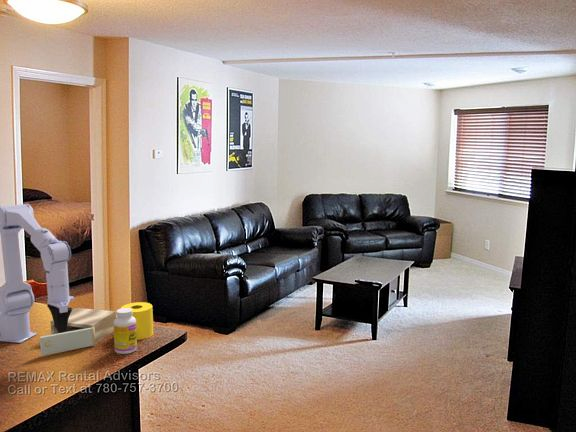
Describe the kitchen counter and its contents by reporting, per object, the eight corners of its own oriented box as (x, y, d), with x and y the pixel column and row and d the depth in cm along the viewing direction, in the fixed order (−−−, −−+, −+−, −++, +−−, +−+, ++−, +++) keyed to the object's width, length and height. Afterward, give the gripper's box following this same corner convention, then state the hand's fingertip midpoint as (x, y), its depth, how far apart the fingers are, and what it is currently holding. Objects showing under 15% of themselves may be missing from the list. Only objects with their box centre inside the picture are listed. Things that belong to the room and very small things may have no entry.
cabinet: (51, 340, 174) (50, 321, 173) (77, 325, 187) (75, 307, 186) (93, 345, 171) (92, 325, 170) (116, 329, 184) (115, 311, 183)
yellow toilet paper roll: (145, 326, 187) (144, 300, 185) (158, 335, 179) (157, 307, 178) (117, 333, 181) (116, 306, 179) (129, 342, 173) (128, 314, 171)
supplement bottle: (130, 355, 163) (129, 314, 161) (110, 353, 164) (108, 313, 162) (141, 347, 169) (139, 307, 167) (121, 345, 171) (119, 306, 168)
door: (94, 343, 170) (93, 326, 170) (96, 346, 169) (95, 329, 168) (40, 354, 162) (39, 336, 161) (42, 357, 160) (40, 339, 160)
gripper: (77, 288, 152) (80, 334, 154) (67, 276, 164) (70, 319, 166) (50, 292, 148) (53, 339, 150) (42, 279, 160) (45, 323, 162)
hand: (60, 329), depth 158 cm, fingers open, 4 cm apart
